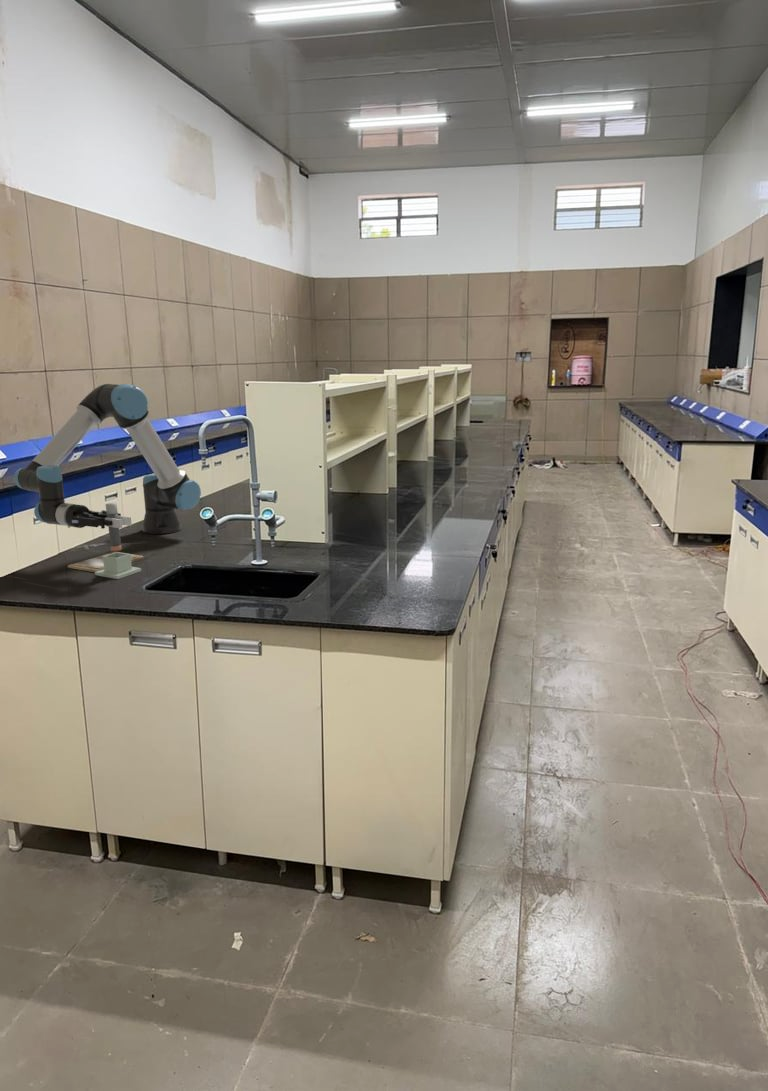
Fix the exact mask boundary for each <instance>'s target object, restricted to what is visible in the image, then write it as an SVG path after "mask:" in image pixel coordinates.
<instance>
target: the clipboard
mask: <svg viewBox="0 0 768 1091" xmlns="http://www.w3.org/2000/svg"><path fill="white" fill-rule="evenodd" d="M116 552H117V551H111V552H109V553H104V554H102V555H98V556H95V557H91V558H89V559H88V558H87V559H84V560H80V561H78V562H74V563H71V564H67V568H69V569H74V570H80V571H85V572H89V573H90V572H91V573H95V572H97V571H100V570H103V569H104V563H103V556H106V555H109V554H112V553H116ZM120 553H122V552H120ZM125 553H126V554H128V553H127V552H125ZM130 554H131V563H134V562H136V561H140V560H143V559H144V556H143V555H138V554H132V553H130Z"/></svg>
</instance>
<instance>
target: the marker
mask: <svg viewBox="0 0 768 1091" xmlns="http://www.w3.org/2000/svg"><path fill="white" fill-rule="evenodd" d="M105 511H106V512H107V518H114V519H118V513H119V512H118V505H117V502H111V503H105ZM107 527H108V526H107ZM108 535H109V544H110V545H109V546H110V551H111V552H114V551H115V552H119V551H122V549H123V548H122V540H121V532H120V528H115V527H108Z"/></svg>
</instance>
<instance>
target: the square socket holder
mask: <svg viewBox="0 0 768 1091" xmlns="http://www.w3.org/2000/svg"><path fill="white" fill-rule="evenodd" d="M115 552H116V553H112V554H109V555H106V556H103V563H104V569H103V570H100V571H97V572H94V575H95V576H99V577H104V578H110V579H115V580H120V579H122V578H126V577H129V576H131V575H133V574H134V575H135V574H138V573H140V572H142V567H136V566H132V562H131V554H132V553H127V552H121V553H120V552H119V551H115ZM126 553H127V554H126Z"/></svg>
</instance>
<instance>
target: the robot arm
mask: <svg viewBox="0 0 768 1091" xmlns="http://www.w3.org/2000/svg"><path fill="white" fill-rule="evenodd" d="M146 395H147V394H145V392H144V391H143V390H142V389H141V388H140V387H137V386H136V385H132V384H127V383H123V384H121V383H120V384H114V383H113V384H112V383H105V384H102V385H99V386H96V388H94V389H93V390H91V391H90V392H89V393H88V394H87V395H86V396H85V397H84V398H83V399H82V400H81V401H80V402H79V404H77V406H76V412H75V413H73V415H72V416H71V417H70V418H69V419H68V420H67V422H66V423H65V424H63V426H62V427H61V428H60V429H59V430H58V431H57V432H56V434H55V435H54V436H53V437H52V438H51V439H50V440H49V441H48V443H47V444H46V445H45V446H44V447H43V448H42V449H41V451H40V452H39V453H38V454H37V455H36V456H35V457H34V458H33V459H32V460H31V461H30V463H29V464H27V466H25V467H20V468H19V469H17V470H16V471H15V472H14V474H13V482H14V484H15V485H16V487H18V488H19V489H22V490H24V491H28V492H34V493H38V494H39V501H38V502H37V503H36V505H35V507H34V510H33V511H34V513H33V514H34V516H35V518H36V519H37V520H38V521H39V522H42V523H46V524H48V525H57V526H65V527H67V528H69V529H70V528H71V527H72V528H77V529H83V528H85V527H90V528H98V527H101V528H100V529H103V530H104V529H106V527H115V528H119V529H122V528H123V526H126V527H127V526H128V527H132V518H131V516H126V515H121V513H119V512H118V519H114V518H107V512H106V510H100V511H95V510H90V509H89V508H88V507H87V506H86V505H83V504H78V503H77V504H75V503H69V502H67V503H66V501H65V494H64V482H63V480H64V479H63V475H62V474H63V473H62V469H61V467H60V465H61V464H62V463H63V461H65V459H66V458H67V457H68V456H69V455H70V453H72V451H74V449H76V447H77V446H78V445H79V444H80V442H82V440H84V438H85V437H86V436H87V435H88V433H89V432H90V431H92V429H93V428H94V427H95V426H99V425H100V424H101V423H102V422H103V421H105V419H107V418H114V421H115V422H116V423H117V424H118V427H120V429H124V430H126V431H127V432H128V434H129V436H130V438H131V439H132V441H133V442H134V444H135V446H136V447H137V448H138V450H139V451H140V453H141V455H142V456H143V458H144V459H145V461H146V463H147V464H148V466H149V467H150V469H151V470H152V474H147V475H144V476H143V478H142V488H143V497H144V498H143V500H144V509H145V513H144V517H143V523H142V525H141V527H142V528H141V529H142V532H143V533H144V534H151V535H161V534H162V535H163V534H171V533H175V532H176V533H177V532H179V531H181V530H182V524H181V521H180V520H179V519H180V518H179V517H178V516H179V515H178V513H177V511H176V509H177V510H184V511H185V510H186V511H189V510H192V509H193V508H195V507H196V506H197V505H198V504H199V502H200V500H201V495H202V491H201V490H202V489H201V487H200V485H199V483H198V482H197V481H195V480H193V479H190V478H189V476H188V474H187V473H186V470H184V469H180V468H179V467H178V466H177V464H176V462H175V460H174V459H173V457H172V456H171V454H170V453H169V451H168V449H167V447H166V446H165V444H164V443H163V441H162V439H161V437H160V436H159V434H158V433H157V431H156V429H155V428H154V426H153V425H152V423H151V421H150V420H149V415H150V411H149V410H148V409H149V407H148V404H149V401H148V397H147V396H146Z"/></svg>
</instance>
